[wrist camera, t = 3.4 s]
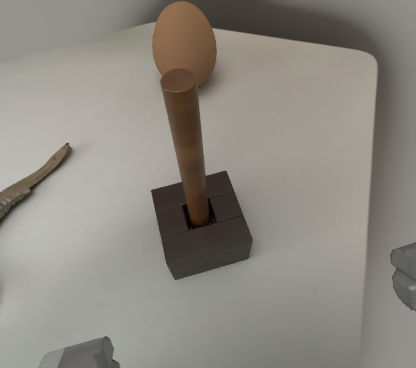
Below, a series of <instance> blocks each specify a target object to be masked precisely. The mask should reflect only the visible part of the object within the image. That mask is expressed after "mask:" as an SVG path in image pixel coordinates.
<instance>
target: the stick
mask: <svg viewBox="0 0 416 368" xmlns="http://www.w3.org/2000/svg"><path fill="white" fill-rule="evenodd" d="M161 87H162V92H163V96H164V101H165V106H166V110H167V115H168V119H169V124H170V129H171V133H172V138H173V143H174V147H175V152H176V156H177V161H178V166H179V170H180V175H181V179H182V184H183V189H184V193H185V198H186V202H187V207H188V212H189V216H190V221H191V225H192V229H196V228H199V227H203V226H207V225H210V219H209V208H208V197H207V186H206V176H205V165H204V154H203V143H202V132H201V121H200V110H199V99H198V88H197V78H196V76H195V74H194V73H193V72H192V71H190V70H188V69H184V68H177V69H172V70H170V71H168V72H166V73H165V74H164V75H163V76H162V78H161Z"/></svg>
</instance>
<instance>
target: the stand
mask: <svg viewBox="0 0 416 368" xmlns="http://www.w3.org/2000/svg"><path fill="white" fill-rule="evenodd" d="M206 186H207V197H208V208H209V219H210V220H211V222H212V224H210V225H207V226H203V227H199V228H196V229H192V230H188V226H192V225H191V221H190V216H189V212H188V207H187V202H186V198H185V193H184V189H183V184H182V182H180V183H177V184H173V185H169V186H165V187H161V188H157V189H153V190H151V193H152V197H153V202H154V207H155V212H156V216H157V221H158V226H159V231H160V235H161V240H162V245H163V249H164V254H165V259H166V263H167V266H168V268H169V270H170V272H171V273H172V275H173V277H174V279H175V280H177V279H180V278H184V277H187V276H191V275H194V274H197V273H201V272H204V271H208V270H211V269H214V268H218V267H221V266H225V265H228V264H231V263H235V262H238V261H242V260H245V259H248V258H249V254H250V250H251V245H252V241H253V239H252V237H251V234H250V231H249V229H248V226H247V224H246V221H245V218H244V216H243V213H242V210H241V208H240V205H239V203H238V200H237V197H236V195H235V192H234V189H233V187H232V184H231V182H230V179H229V176H228V174H227V171H223V172H219V173H215V174H211V175H207V176H206Z"/></svg>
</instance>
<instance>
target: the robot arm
mask: <svg viewBox="0 0 416 368" xmlns="http://www.w3.org/2000/svg"><path fill="white" fill-rule="evenodd" d="M390 257H391V264H392V265H393V266H394V267H395V268H396V271H395V272H394V274H393V276H392V280H393V287H394V290H395V292H396V294H397V296H398V298H399V299H400V300H401V301H402V302H403V303H404V304H405V305H406V306H407V307H409V308H410V309H411V310H415V311H416V243H412V244H409V245H406V246H403V247H400V248H397V249H394V250H392V252H391V255H390ZM113 351H114V348H113V345H112V343H111V340H110V338H108V337H107V336H105V337H102V338H98V339H94V340H91V341H87V342H84V343H80V344H77V345H73V346H69V347H68V348H62V349H59V350H56V351H53V352H49V353H48V354H46V355H45V356H44V357H43V359H42V361H41V363H40V365H39V367H38V368H120V365H119V363H118V362H116V361H115V360H113V359H112V357H113Z"/></svg>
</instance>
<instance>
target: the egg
mask: <svg viewBox="0 0 416 368" xmlns="http://www.w3.org/2000/svg"><path fill="white" fill-rule="evenodd" d="M152 49H153V56H154V60H155V63H156V66H157V68H158V70H159V72H160V74H161V75H162V76H163V75H164V74H165V73H166V72H168V71H170V70H172V69H177V68H184V69H188V70H190V71H192V72H193V73H194V74H195V76H196V78H197V87H198V86H200V85H201V84H203V83H204V82H205V81H206V80H207V79H208V77H209V76H210V75H211V73H212V71H213V69H214V66H215V62H216V53H217V49H216V41H215V36H214V33H213V30H212V28H211V26H210V24H209V22H208V20H207V18H206V17H205V16H204V14H203V13H202V12H201V11H200V10H199V9H198V8H197V7H196V6H194V5H192V4H191V3H188V2H183V1H179V2H175V3H172V4H170V5H169V6H167V7H166V8H165V9H164V11H162V13H161V14H160V16H159V18H158V20H157V22H156V25H155V29H154V33H153V41H152Z"/></svg>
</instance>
